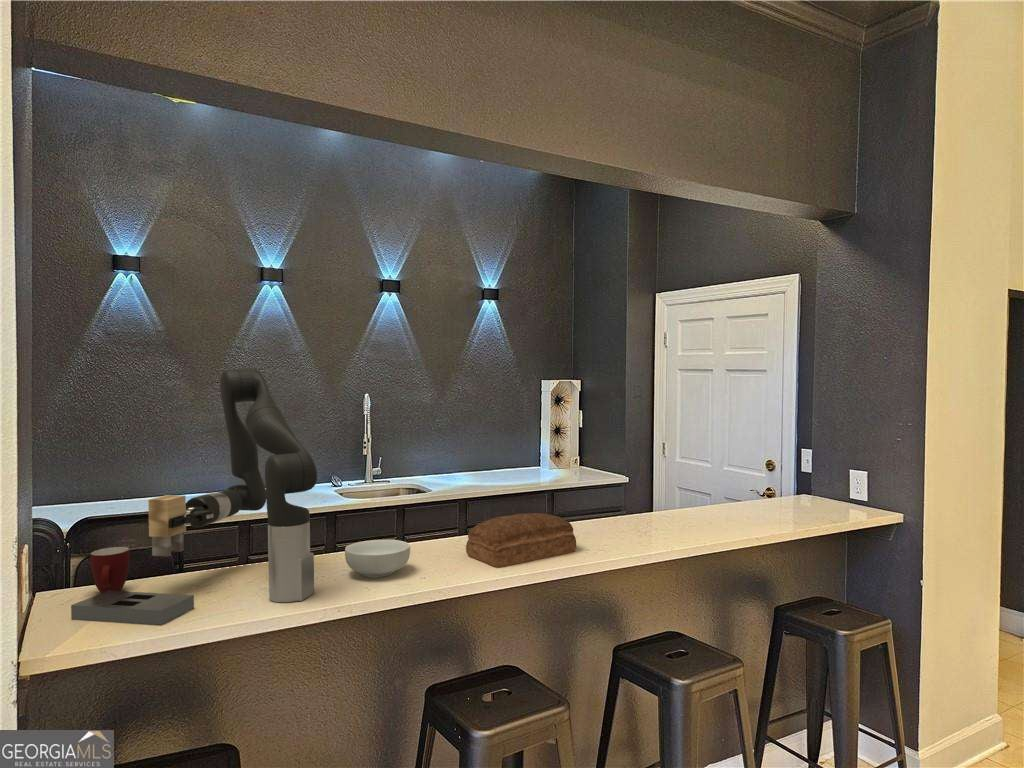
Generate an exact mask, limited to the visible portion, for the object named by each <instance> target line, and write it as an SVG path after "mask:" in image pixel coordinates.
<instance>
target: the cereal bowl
mask: <svg viewBox="0 0 1024 768" xmlns="http://www.w3.org/2000/svg"><path fill="white" fill-rule="evenodd" d="M410 554H411V545H410V543H409V542H406V541H403V540H397V539H371V540H364V541H358V542H354V543H350V544H349V545H348V544H347V546H345V549H344V559H345V562H346V564H347V566H348V567H349V568H350V569H351V570H353V571H355V572H356V573H359V574H361V575H362V576H364V577H366V578H382V577H383V578H384V577H388V576H390V575H392V574H393V573H394V572H395V571H398V570H400V569H402V568H403V567H405V565H406V564H407V563H408V561H409V559H410V556H411V555H410Z"/></svg>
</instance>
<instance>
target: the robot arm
mask: <svg viewBox="0 0 1024 768" xmlns="http://www.w3.org/2000/svg"><path fill="white" fill-rule="evenodd" d="M264 377H265V376H264V375H263V374H262V372H261V371H260V370H259V369H257V368H230V369H225V370H223V371H222V372H221V374H220V377H219V378H220V380H219V390H220V391H219V392H220V397H221V403H222V410H223V415H224V419H225V425H226V431H227V436H228V440H229V449H230V450H229V451H230V466H231V467H230V469H231V474H232V475H233V477H234V478H235V477H236V478H237V479H238V478H239V479H241V480H243V482H244V483H245V484H235V485H232V486H231V485H230V486H228V487H227V488H226V489H224V490H222V491H218V492H211V493H206V494H203V495H199V496H195V497H191V498H190V499H188V500H187V501H186V514H183V515H182V516H177V517H174V518H170V519H169V528H175V527H178V526H181V525H183V526H186V527H187V526H191V527H193V528H202V527H205V526H208V525H211V524H214V523H216V522H219V521H222V520H223V519H226V518H229V517H232V516H233V515H236V514H237V513H239V512H240V511H251V512H252V511H260V510H261V509H263V508H264V506H265V505H266V513H267V548H268V549H267V554H268V555H267V556H268V558H267V559H268V560H267V561H268V599H269V600H270V601H271V602H274V603H291V602H302V601H304V600H305V599H307V598H309V597H310V596H311V595H313V594H315V555H314V552H311V533H310V532H311V529H310V527H311V525H310V520H311V519H310V517H311V516H310V515H311V514H310V510H309V509H308V508H307V507H303V506H299V505H296V504H291V503H289V502H288V501H287V500H286V495H290V494H296V493H303V492H307V491H309V490H312V489H313V488H314V487H315V485H316V484H317V482H318V470H317V467H316V466H317V465H316V464H315V462H314V459H313V457H312V456H311V454H310V453H309V452H308V450H307V449H306V447H304V445H303V444H302V443H301V442H300V441H299V440H298V438H297V436H296V434H294V432H293V430H292V429H291V427H290V425H289V423H288V421H287V420H286V418H285V416H284V414H283V413H282V411H281V410H280V408H279V407H278V405H277V403H276V402H275V400H274V398H273V396H272V394H271V392H270V388H269V386H268V385H267V382H266V379H265V378H264ZM246 402H253V404H251V406H250V407H249V410H248V411H247V413H246V416H245V422H243V421H242V420H241V418H240V415H239V414H238V409H237V405H236V404H237V403H246ZM244 423H245V424H244ZM245 425H246V426H245ZM258 446H259V447H260V448H262V449H263V450H265V451H266V452H268V453H270V454H272V455H270V456H268V458H267V459H266V462H265V466H264V480H263V477H262V474H261V471H260V468H259V455H258V453H259V451H258ZM147 527H148V528H149V517H148V518H147Z"/></svg>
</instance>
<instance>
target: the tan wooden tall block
mask: <svg viewBox="0 0 1024 768" xmlns="http://www.w3.org/2000/svg"><path fill="white" fill-rule="evenodd" d="M186 502H187V501H186V495H180V494H179V495H175V494H166V495H162V496H158V497H154V498H151V499H150V498H149V499H148V502H147V503H148V518H149V527H148V536H149V537H151V551H152V552H151V556H152V557H169V556H172V552H179V553H180V552H183V551H184V549H185V548H184V547H185V546H184V545H185V544H184V542H185V540H184V539H185V538H184V533H185V532H187V525H186V526H183V525H181V526H178V527H175V528H169V519H170V518H174V517H177V516H182V515H183V514H186Z"/></svg>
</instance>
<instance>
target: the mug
mask: <svg viewBox="0 0 1024 768" xmlns="http://www.w3.org/2000/svg"><path fill="white" fill-rule="evenodd" d="M89 560H90V568H91V573H92V576H93V582H94V586H95V587H96V589H97V590H98V591H99V594H101V593H103V592H106V591H108V590H110V591H123V590H122V589H123V588H124V586H125V584H126V582H127V579H128V572H129V567H130V562H131V561H130V560H131V550H130V548H129V547H127V546H126V547H125V546H114V547H106V548H102V549H101V548H100V549H97V550H94V551H92V552H91V553H90V558H89Z"/></svg>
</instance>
